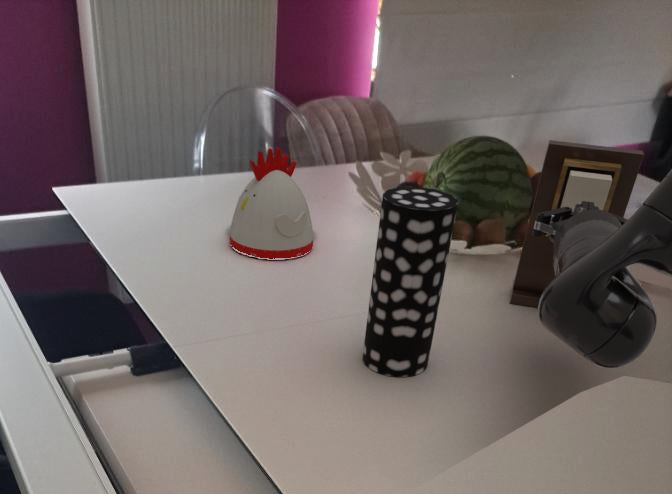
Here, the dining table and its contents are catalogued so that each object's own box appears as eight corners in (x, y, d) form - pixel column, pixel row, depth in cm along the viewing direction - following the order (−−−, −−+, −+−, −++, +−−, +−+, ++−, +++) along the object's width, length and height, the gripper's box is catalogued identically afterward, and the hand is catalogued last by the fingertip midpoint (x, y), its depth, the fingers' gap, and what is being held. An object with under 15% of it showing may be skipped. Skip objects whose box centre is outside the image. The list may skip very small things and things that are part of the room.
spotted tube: (348, 357, 94) (367, 194, 81) (392, 339, 99) (416, 182, 86) (397, 384, 90) (424, 215, 77) (440, 364, 94) (473, 201, 81)
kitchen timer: (215, 238, 125) (213, 141, 115) (283, 226, 131) (287, 133, 121) (258, 266, 116) (260, 164, 107) (328, 252, 122) (337, 154, 113)
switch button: (557, 216, 101) (570, 170, 97) (597, 222, 100) (611, 175, 96) (557, 222, 99) (570, 175, 95) (597, 227, 98) (612, 180, 94)
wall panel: (511, 288, 114) (549, 136, 101) (591, 300, 112) (641, 147, 98) (509, 303, 110) (549, 146, 96) (593, 316, 108) (645, 158, 94)
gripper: (666, 229, 78) (650, 185, 91) (537, 212, 80) (539, 171, 93) (641, 298, 82) (629, 246, 95) (520, 279, 85) (524, 231, 98)
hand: (585, 209), depth 94 cm, fingers closed
